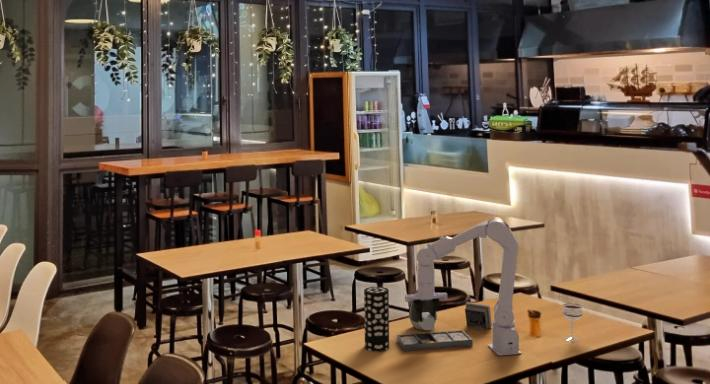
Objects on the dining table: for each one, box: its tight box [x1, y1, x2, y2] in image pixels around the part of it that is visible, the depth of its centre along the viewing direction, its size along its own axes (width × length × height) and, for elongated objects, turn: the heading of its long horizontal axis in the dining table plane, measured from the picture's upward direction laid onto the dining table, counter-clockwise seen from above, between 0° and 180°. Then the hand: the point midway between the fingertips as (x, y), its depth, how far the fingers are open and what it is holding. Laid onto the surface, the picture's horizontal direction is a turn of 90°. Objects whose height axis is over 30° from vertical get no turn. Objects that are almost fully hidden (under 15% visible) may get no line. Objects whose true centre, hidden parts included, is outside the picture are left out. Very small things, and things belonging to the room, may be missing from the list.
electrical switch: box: [464, 301, 493, 331], centre depth 229 cm, size 9×5×9 cm, turn 57°
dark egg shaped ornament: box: [408, 289, 438, 331], centre depth 229 cm, size 10×10×15 cm
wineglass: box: [562, 302, 584, 343], centre depth 215 cm, size 7×7×12 cm
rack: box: [396, 329, 474, 353], centre depth 213 cm, size 10×24×2 cm, turn 100°
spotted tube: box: [363, 286, 390, 352], centre depth 210 cm, size 8×8×20 cm
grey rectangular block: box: [419, 312, 435, 331], centre depth 212 cm, size 7×4×4 cm, turn 10°
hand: (426, 320), depth 212 cm, fingers closed on grey rectangular block, 3 cm apart
